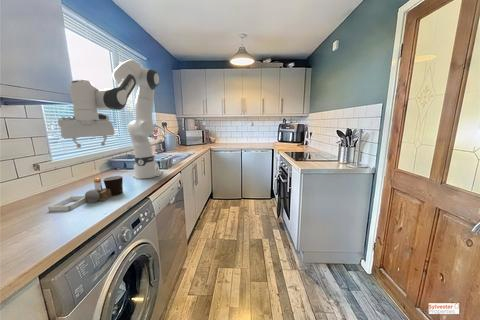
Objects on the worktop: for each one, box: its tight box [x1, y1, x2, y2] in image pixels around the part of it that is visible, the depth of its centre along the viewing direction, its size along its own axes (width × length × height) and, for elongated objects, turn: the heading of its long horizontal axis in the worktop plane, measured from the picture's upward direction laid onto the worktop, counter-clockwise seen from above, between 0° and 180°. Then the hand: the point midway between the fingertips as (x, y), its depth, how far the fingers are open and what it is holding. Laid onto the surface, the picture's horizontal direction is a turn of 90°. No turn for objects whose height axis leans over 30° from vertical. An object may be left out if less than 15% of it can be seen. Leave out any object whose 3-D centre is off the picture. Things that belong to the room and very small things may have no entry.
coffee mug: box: [102, 175, 124, 197], centre depth 111 cm, size 12×9×10 cm
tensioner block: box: [84, 187, 113, 204], centre depth 103 cm, size 10×8×7 cm
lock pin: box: [93, 177, 103, 192], centre depth 103 cm, size 3×3×10 cm
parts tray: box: [47, 195, 87, 212], centre depth 97 cm, size 13×9×3 cm
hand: (91, 146), depth 99 cm, fingers open, 8 cm apart
